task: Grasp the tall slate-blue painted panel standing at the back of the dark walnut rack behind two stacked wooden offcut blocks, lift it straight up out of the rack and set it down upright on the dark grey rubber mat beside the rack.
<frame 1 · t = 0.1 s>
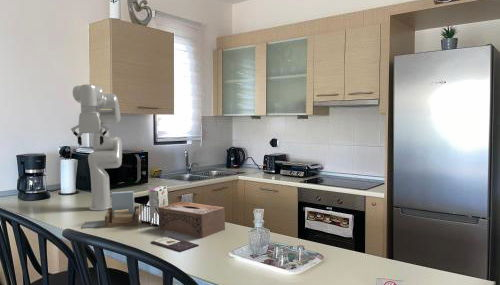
hand: (90, 144, 202), 37 cm above the countertop, tool pointing down, fingers open, 9 cm apart
offcut upper: (121, 215, 193), point 4 cm above the countertop, touching offcut lower
rack: (123, 222, 195), on the countertop
chocolate bar: (174, 246, 160), on the countertop
offcut lower: (122, 224, 193), resting in rack, touching offcut upper
mat: (95, 224, 193), on the countertop
panel: (123, 220, 199), resting in rack
tissue box cover: (191, 230, 181), on the countertop
candy bar box: (159, 223, 194), on the countertop
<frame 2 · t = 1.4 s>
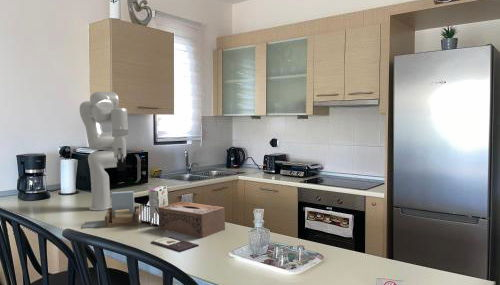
hand: (121, 169, 197), 25 cm above the countertop, tool pointing down, fingers open, 9 cm apart
offcut upper: (122, 215, 193), point 4 cm above the countertop
offcut lower: (122, 224, 193), resting in rack
everything else where it was.
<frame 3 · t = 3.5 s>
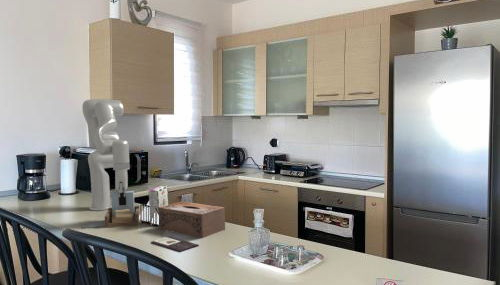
hand: (123, 203, 198), 8 cm above the countertop, tool pointing down, fingers closed on panel, 3 cm apart
offcut upper: (122, 215, 193), point 4 cm above the countertop, touching offcut lower
offcut lower: (122, 224, 193), resting in rack, touching offcut upper
panel: (123, 220, 199), resting in rack, touching gripper
everything else where it was.
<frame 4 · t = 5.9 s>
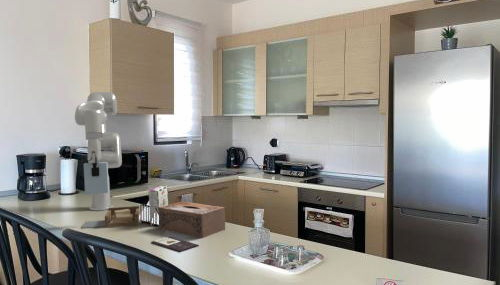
hand: (96, 175, 192), 23 cm above the countertop, tool pointing down, fingers closed on panel, 3 cm apart
panel: (97, 192, 193), point 15 cm above the countertop, touching gripper
everything else where it was.
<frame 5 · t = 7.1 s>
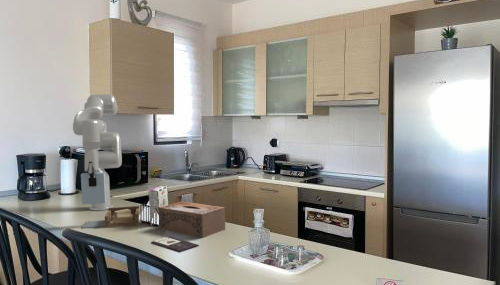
hand: (93, 185, 192), 19 cm above the countertop, tool pointing down, fingers closed on panel, 3 cm apart
panel: (94, 202, 192), point 10 cm above the countertop, touching gripper
everything else where it was.
when the fingers open (9 cm above the countertop, at t = 9.0 s): panel stays where it is, resting on mat.
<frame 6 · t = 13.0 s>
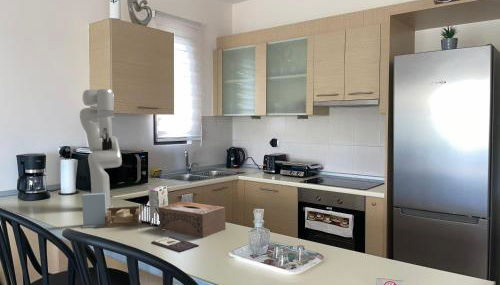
hand: (107, 149, 202), 34 cm above the countertop, tool pointing down, fingers open, 9 cm apart
panel: (95, 223, 193), resting on mat
at the end: panel inside the target area on the mat (0.1 cm from its centre), point 0.4 cm above the mat's base; panel tilted 0°; the gripper is holding nothing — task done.
